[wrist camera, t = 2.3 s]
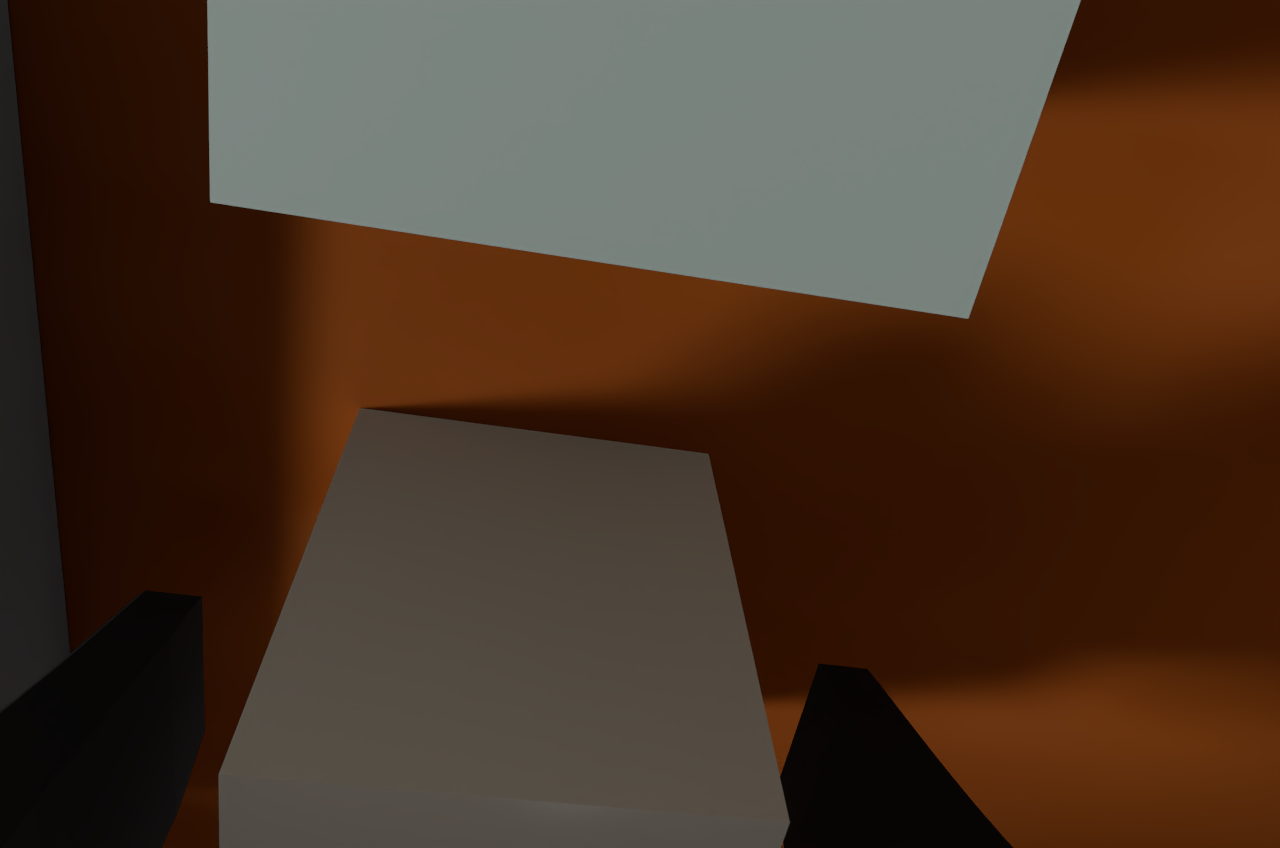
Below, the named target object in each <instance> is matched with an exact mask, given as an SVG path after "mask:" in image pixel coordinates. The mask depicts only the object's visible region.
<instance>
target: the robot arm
mask: <svg viewBox="0 0 1280 848" xmlns="http://www.w3.org/2000/svg"><path fill="white" fill-rule="evenodd" d="M204 731H205V727H204V678H203V629H202V597H200V596H191V595H182V594H173V593H164V592H154V591H144V592H143V593H141V594H140V595H138V596H137V597H135V598H134V599H133V600H132V601H131V602H129V603H128V604H127V605H126V606H125V607H124V608H122V609H121V610H120V611H119V612H118V613H117V614H116V615H114V616H113V617H112V618H111V619H110V620H109V621H107V622H106V623H105V624H104V625H103V626H102V627H101V628H99V629H98V630H97V631H96V632H95V633H94V634H92V635H91V636H90V637H89V638H88V639H87V640H85V641H84V642H83V643H82V644H81V645H80V646H78V647H77V648H76V649H75V650H74V651H73V652H71V653H70V654H69V655H68V656H67V657H65V658H64V659H63V660H62V661H61V662H60V663H58V664H57V665H56V666H55V667H54V668H52V669H51V670H50V671H49V672H48V673H46V674H45V675H44V676H43V677H41V678H40V679H39V680H38V681H36V682H35V683H34V684H33V685H31V686H30V687H29V688H28V689H27V690H25V691H24V692H23V693H22V694H20V695H19V696H18V697H17V698H15V699H14V700H13V701H12V702H10V703H9V704H8V705H7V706H5V707H4V708H3V709H2V710H0V848H162V846H163V843H164V841H165V839H166V837H167V835H168V833H169V830H170V828H171V826H172V824H173V822H174V819H175V817H176V815H177V812H178V809H179V806H180V803H181V801H182V798H183V795H184V792H185V789H186V786H187V783H188V780H189V777H190V774H191V771H192V768H193V765H194V762H195V759H196V756H197V752H198V749H199V746H200V743H201V740H202V737H203V734H204ZM780 780H781V784H782V789H783V793H784V798H785V802H786V807H787V811H788V816H789V820H790V824H789V826H788V829H787V832H786V835H785V838H784V840H783V841H784V848H1013V847H1012V846H1011V845H1010V844H1009V843H1008V842H1007V841H1006V839H1005V838H1004V837H1003V836H1002V835H1001V834H1000V833H999V831H998V830H997V829H996V828H995V827H994V826H993V825H992V823H991V822H990V821H989V820H988V819H987V818H986V817H985V815H984V814H983V813H982V812H981V811H980V810H979V808H978V807H977V806H976V805H975V804H974V802H973V801H972V800H971V799H970V798H969V796H968V795H967V794H966V793H965V792H964V790H963V789H962V788H961V787H960V786H959V784H958V783H957V782H956V781H955V779H954V778H953V777H952V776H951V775H950V773H949V772H948V771H947V770H946V768H945V767H944V766H943V765H942V763H941V762H940V761H939V760H938V758H937V757H936V756H935V755H934V753H933V752H932V751H931V750H930V748H929V747H928V746H927V744H926V743H925V742H924V741H923V739H922V738H921V737H920V736H919V734H918V733H917V732H916V730H915V729H914V728H913V727H912V725H911V724H910V723H909V721H908V720H907V719H906V718H905V716H904V715H903V714H902V712H901V711H900V710H899V709H898V707H897V706H896V705H895V703H894V702H893V701H892V700H891V698H890V697H889V696H888V694H887V693H886V692H885V691H884V689H883V688H882V687H881V685H880V684H879V683H878V682H877V680H876V679H875V678H874V677H873V676H872V674H871V673H870V672H869V671H868V669H863V668H853V667H844V666H835V665H826V664H819V665H818V668H817V671H816V674H815V677H814V680H813V683H812V685H811V688H810V691H809V694H808V697H807V700H806V703H805V706H804V709H803V712H802V715H801V718H800V721H799V724H798V727H797V729H796V732H795V735H794V738H793V741H792V744H791V747H790V750H789V753H788V756H787V759H786V762H785V765H784V768H783V770H782V773H781V776H780Z"/></svg>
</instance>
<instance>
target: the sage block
mask: <svg viewBox="0 0 1280 848" xmlns="http://www.w3.org/2000/svg"><path fill="white" fill-rule="evenodd" d="M1080 1H1081V0H207V16H208V91H209V166H210V202H211V203H218V204H224V205H231V206H237V207H244V208H250V209H257V210H263V211H270V212H276V213H283V214H289V215H296V216H302V217H309V218H315V219H322V220H328V221H335V222H341V223H348V224H354V225H361V226H367V227H374V228H380V229H387V230H393V231H400V232H406V233H413V234H419V235H426V236H432V237H439V238H445V239H452V240H459V241H465V242H472V243H478V244H485V245H491V246H498V247H504V248H511V249H517V250H524V251H530V252H537V253H543V254H550V255H556V256H563V257H569V258H576V259H582V260H589V261H595V262H602V263H608V264H615V265H621V266H628V267H634V268H641V269H647V270H654V271H660V272H667V273H673V274H680V275H686V276H693V277H699V278H706V279H712V280H719V281H725V282H732V283H738V284H745V285H752V286H758V287H765V288H771V289H778V290H784V291H791V292H797V293H804V294H810V295H817V296H823V297H830V298H836V299H843V300H849V301H856V302H862V303H869V304H875V305H882V306H888V307H895V308H901V309H908V310H914V311H921V312H927V313H934V314H940V315H947V316H953V317H960V318H966V319H968V318H969V315H970V313H971V310H972V307H973V304H974V301H975V298H976V296H977V293H978V290H979V287H980V284H981V282H982V279H983V276H984V273H985V270H986V267H987V265H988V262H989V259H990V256H991V253H992V250H993V248H994V245H995V242H996V239H997V236H998V233H999V231H1000V228H1001V225H1002V222H1003V219H1004V216H1005V214H1006V211H1007V208H1008V205H1009V202H1010V199H1011V197H1012V194H1013V191H1014V188H1015V185H1016V182H1017V180H1018V177H1019V174H1020V171H1021V168H1022V165H1023V163H1024V160H1025V157H1026V154H1027V151H1028V149H1029V146H1030V143H1031V140H1032V137H1033V134H1034V132H1035V129H1036V126H1037V123H1038V120H1039V117H1040V115H1041V112H1042V109H1043V106H1044V103H1045V100H1046V98H1047V95H1048V92H1049V89H1050V86H1051V83H1052V81H1053V78H1054V75H1055V72H1056V69H1057V66H1058V64H1059V61H1060V58H1061V55H1062V52H1063V49H1064V47H1065V44H1066V41H1067V38H1068V35H1069V32H1070V30H1071V27H1072V24H1073V21H1074V18H1075V16H1076V13H1077V10H1078V7H1079V4H1080Z"/></svg>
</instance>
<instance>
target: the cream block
mask: <svg viewBox="0 0 1280 848" xmlns="http://www.w3.org/2000/svg"><path fill="white" fill-rule="evenodd" d="M218 775H219V848H781V846H782V843H783V840H784V838H785V835H786V832H787V829H788V826H789V824H790V820H789V816H788V811H787V807H786V802H785V798H784V793H783V789H782V784H781V780H780V775H779V771H778V766H777V762H776V757H775V753H774V748H773V744H772V739H771V734H770V730H769V725H768V721H767V716H766V712H765V707H764V703H763V698H762V694H761V689H760V685H759V680H758V676H757V671H756V667H755V662H754V658H753V653H752V648H751V644H750V639H749V635H748V630H747V626H746V621H745V617H744V612H743V608H742V603H741V599H740V594H739V590H738V585H737V581H736V576H735V572H734V567H733V562H732V558H731V553H730V549H729V544H728V540H727V535H726V531H725V526H724V522H723V517H722V513H721V508H720V504H719V499H718V495H717V490H716V486H715V481H714V476H713V472H712V467H711V463H710V458H709V454H707V453H699V452H692V451H684V450H676V449H669V448H661V447H654V446H646V445H638V444H631V443H623V442H616V441H608V440H600V439H593V438H585V437H577V436H570V435H562V434H555V433H547V432H539V431H532V430H524V429H517V428H509V427H501V426H494V425H486V424H478V423H471V422H463V421H456V420H448V419H440V418H433V417H425V416H418V415H410V414H402V413H395V412H387V411H379V410H372V409H364V408H360V409H359V412H358V414H357V417H356V419H355V422H354V425H353V427H352V430H351V432H350V435H349V438H348V440H347V443H346V445H345V448H344V451H343V453H342V456H341V458H340V461H339V463H338V466H337V469H336V471H335V474H334V476H333V479H332V482H331V484H330V487H329V489H328V492H327V495H326V497H325V500H324V502H323V505H322V508H321V510H320V513H319V515H318V518H317V520H316V523H315V526H314V528H313V531H312V533H311V536H310V539H309V541H308V544H307V546H306V549H305V552H304V554H303V557H302V559H301V562H300V565H299V567H298V570H297V572H296V575H295V577H294V580H293V583H292V585H291V588H290V590H289V593H288V596H287V598H286V601H285V603H284V606H283V609H282V611H281V614H280V616H279V619H278V622H277V624H276V627H275V629H274V632H273V634H272V637H271V640H270V642H269V645H268V647H267V650H266V653H265V655H264V658H263V660H262V663H261V666H260V668H259V671H258V673H257V676H256V679H255V681H254V684H253V686H252V689H251V691H250V694H249V697H248V699H247V702H246V704H245V707H244V710H243V712H242V715H241V717H240V720H239V723H238V725H237V728H236V730H235V733H234V736H233V738H232V741H231V743H230V746H229V748H228V751H227V754H226V756H225V759H224V761H223V764H222V767H221V769H220V772H219V774H218Z"/></svg>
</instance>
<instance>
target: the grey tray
mask: <svg viewBox="0 0 1280 848" xmlns="http://www.w3.org/2000/svg"><path fill="white" fill-rule="evenodd" d="M69 654H70V645H69V635H68V625H67V614H66V604H65V593H64V583H63V573H62V562H61V552H60V541H59V531H58V521H57V510H56V500H55V490H54V479H53V469H52V458H51V448H50V438H49V427H48V417H47V406H46V396H45V386H44V375H43V365H42V355H41V344H40V334H39V323H38V313H37V303H36V292H35V282H34V271H33V261H32V251H31V240H30V230H29V220H28V209H27V199H26V188H25V178H24V168H23V157H22V147H21V137H20V126H19V116H18V105H17V95H16V85H15V74H14V64H13V53H12V43H11V33H10V22H9V12H8V1H7V0H0V710H2V709H3V708H4V707H5V706H7V705H8V704H9V703H10V702H12V701H13V700H14V699H15V698H17V697H18V696H19V695H20V694H22V693H23V692H24V691H25V690H27V689H28V688H29V687H30V686H31V685H33V684H34V683H35V682H36V681H38V680H39V679H40V678H41V677H43V676H44V675H45V674H46V673H48V672H49V671H50V670H51V669H52V668H54V667H55V666H56V665H57V664H58V663H60V662H61V661H62V660H63V659H64V658H65V657H67V656H68V655H69Z"/></svg>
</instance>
